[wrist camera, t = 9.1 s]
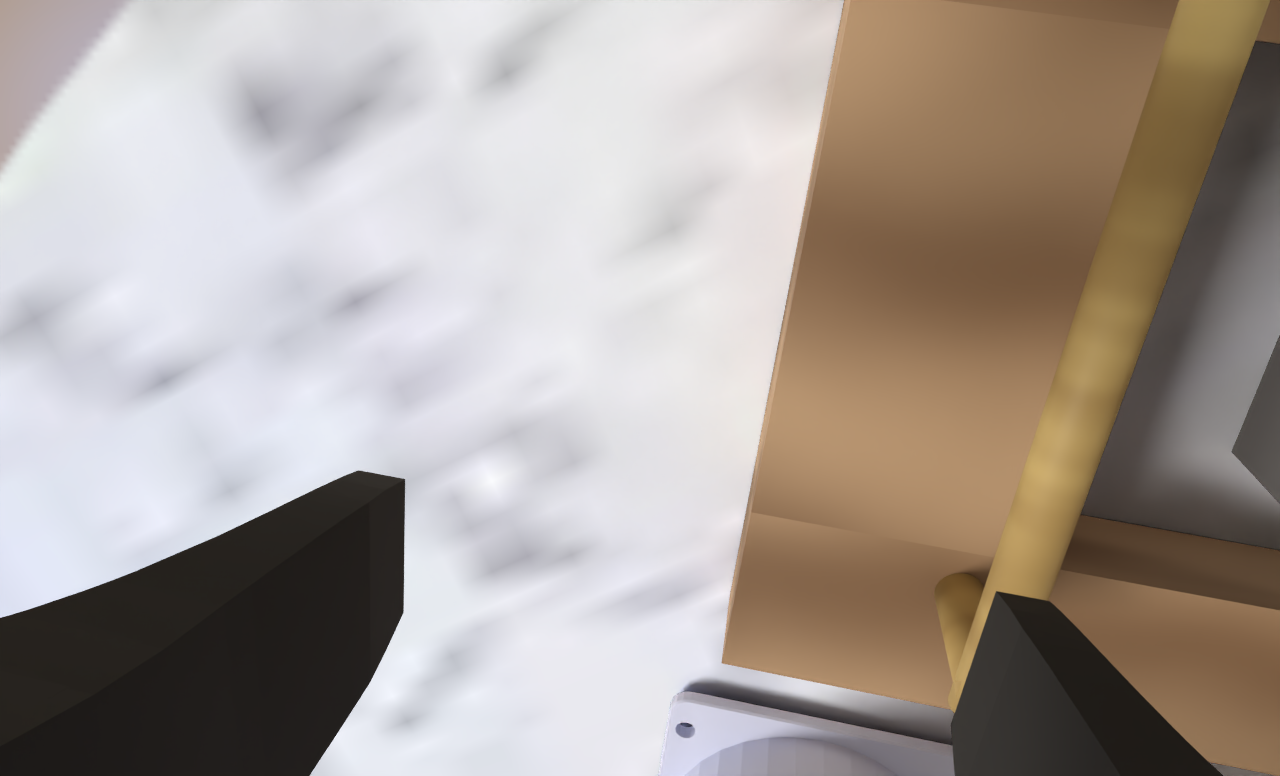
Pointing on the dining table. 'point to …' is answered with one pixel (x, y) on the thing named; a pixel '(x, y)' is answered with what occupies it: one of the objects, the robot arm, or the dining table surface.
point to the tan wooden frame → (997, 360)
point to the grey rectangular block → (1263, 430)
